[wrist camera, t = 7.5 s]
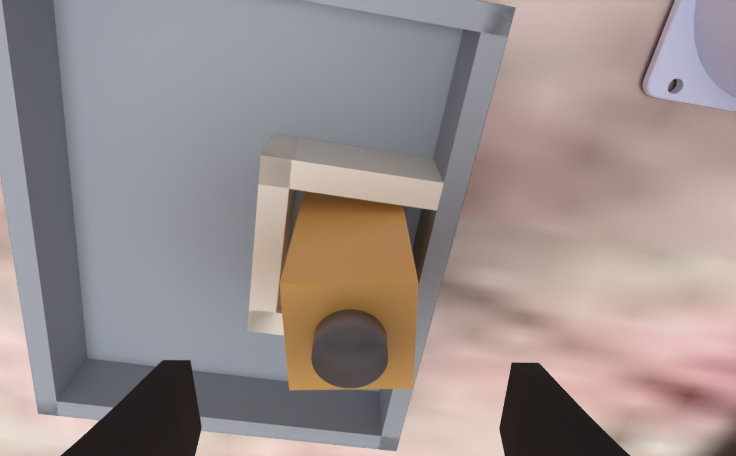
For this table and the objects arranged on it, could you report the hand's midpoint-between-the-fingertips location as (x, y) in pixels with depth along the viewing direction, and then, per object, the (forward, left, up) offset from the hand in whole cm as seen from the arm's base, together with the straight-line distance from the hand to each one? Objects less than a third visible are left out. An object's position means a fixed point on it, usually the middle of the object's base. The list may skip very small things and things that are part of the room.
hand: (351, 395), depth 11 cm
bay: (+4, +1, -10) cm, 11 cm away
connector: (0, 0, -10) cm, 10 cm away
